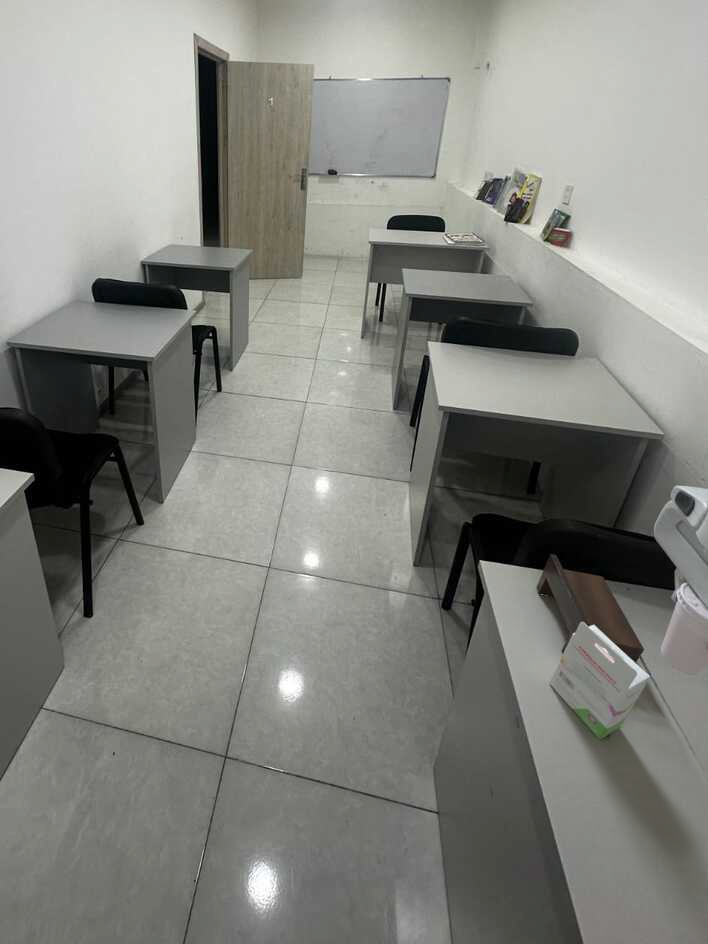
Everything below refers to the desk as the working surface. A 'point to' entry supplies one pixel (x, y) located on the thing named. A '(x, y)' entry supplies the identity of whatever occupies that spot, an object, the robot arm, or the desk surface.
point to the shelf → (588, 605)
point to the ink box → (598, 680)
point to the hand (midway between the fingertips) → (698, 629)
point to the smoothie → (687, 633)
